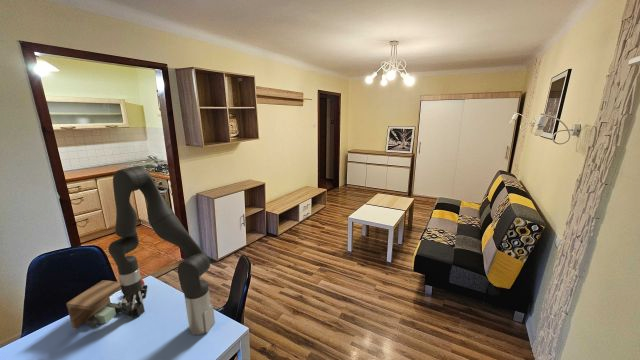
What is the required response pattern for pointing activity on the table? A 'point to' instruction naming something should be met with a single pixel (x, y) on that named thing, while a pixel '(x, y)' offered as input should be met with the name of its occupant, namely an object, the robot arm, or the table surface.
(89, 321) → the mallet
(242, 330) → the table surface
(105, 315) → the block
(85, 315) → the walnut shelf
